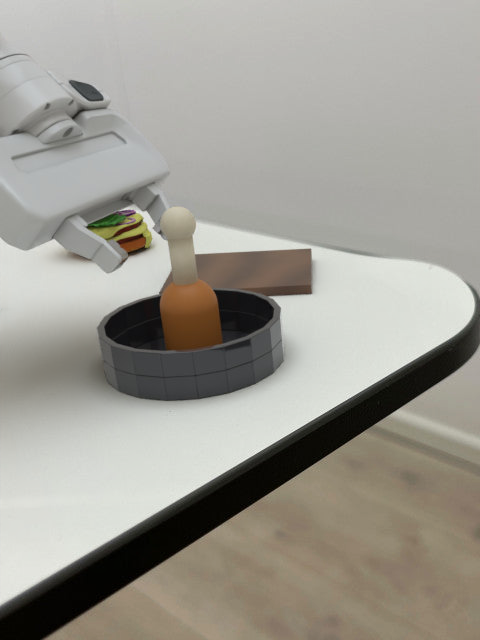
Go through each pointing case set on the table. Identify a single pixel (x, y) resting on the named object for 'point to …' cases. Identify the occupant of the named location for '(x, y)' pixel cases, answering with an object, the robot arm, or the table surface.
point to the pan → (194, 364)
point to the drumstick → (186, 290)
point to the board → (256, 271)
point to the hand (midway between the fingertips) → (150, 248)
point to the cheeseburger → (123, 229)
